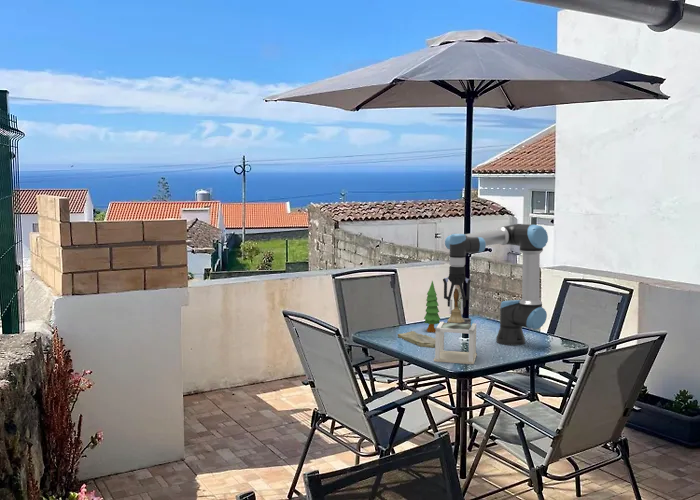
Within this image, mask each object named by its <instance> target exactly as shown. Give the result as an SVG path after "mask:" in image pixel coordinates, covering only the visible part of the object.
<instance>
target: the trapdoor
mask: <svg viewBox="0 0 700 500" xmlns="http://www.w3.org/2000/svg"><path fill="white" fill-rule="evenodd" d="M449 318H450V316H449ZM449 318H448V319H449ZM462 318H463V319H464V321H465V322H462V323H452V322H448V321H446V322H444V325H443V326H442V328H449V329H466V330H470V328H471V326H472V324H471V323H472V318H469V317H467V318H465V317H462Z"/></svg>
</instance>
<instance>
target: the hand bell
mask: <svg viewBox="0 0 700 500" xmlns="http://www.w3.org/2000/svg"><path fill="white" fill-rule="evenodd" d="M452 295H453V296H452V297H453V301H454V308H452V311H451V314H450V315H449V317H450V318H448V319H447V321H448V322H452V323H462V322H465V321H464V319H463V318H464V317H463V316H462V314H461V309H459V305H458V304H459V299H460V298H459V297H460V295H459V289H458V288H454V289H453V293H452ZM447 321H446V322H447Z"/></svg>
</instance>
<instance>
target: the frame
mask: <svg viewBox="0 0 700 500" xmlns="http://www.w3.org/2000/svg"><path fill="white" fill-rule="evenodd" d="M439 322H440V323H438V324H437V326H436V327H435V329H436V332H435V336H434V338H435V348H434V349H435V350H434V352H435V353H434V358H433V361H434V362H438V363H451V364H452V363H453V364H462V365H464V364H465V365H475V361H476V358H477V357H478V356H477V355H478V353H477V352H476V351H477V323H475V322H474V323H473V322H471V323H472V324H471V327H470V330H466V329H449V328H442V326H443V325H444V323H445V321H439ZM445 333H451V334H452V333H453V334H468V351H454V350H453V351H452V350H444V349H445Z"/></svg>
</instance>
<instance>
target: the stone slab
mask: <svg viewBox="0 0 700 500" xmlns="http://www.w3.org/2000/svg"><path fill="white" fill-rule="evenodd" d="M398 337H399V338H398ZM397 338H398V339H401V338H402V339H401V340H403V339H404V341H406V342H408V343H411V344H413V345H416V346H418V347H421V348H429V349H431V348H432V349H433V348H434V349H435V337H432V336H428V335H427V334H422V333H418V332H416V331H414V330H413V331H408V332H404V333H403V332H402V333H398V334H397Z"/></svg>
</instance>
